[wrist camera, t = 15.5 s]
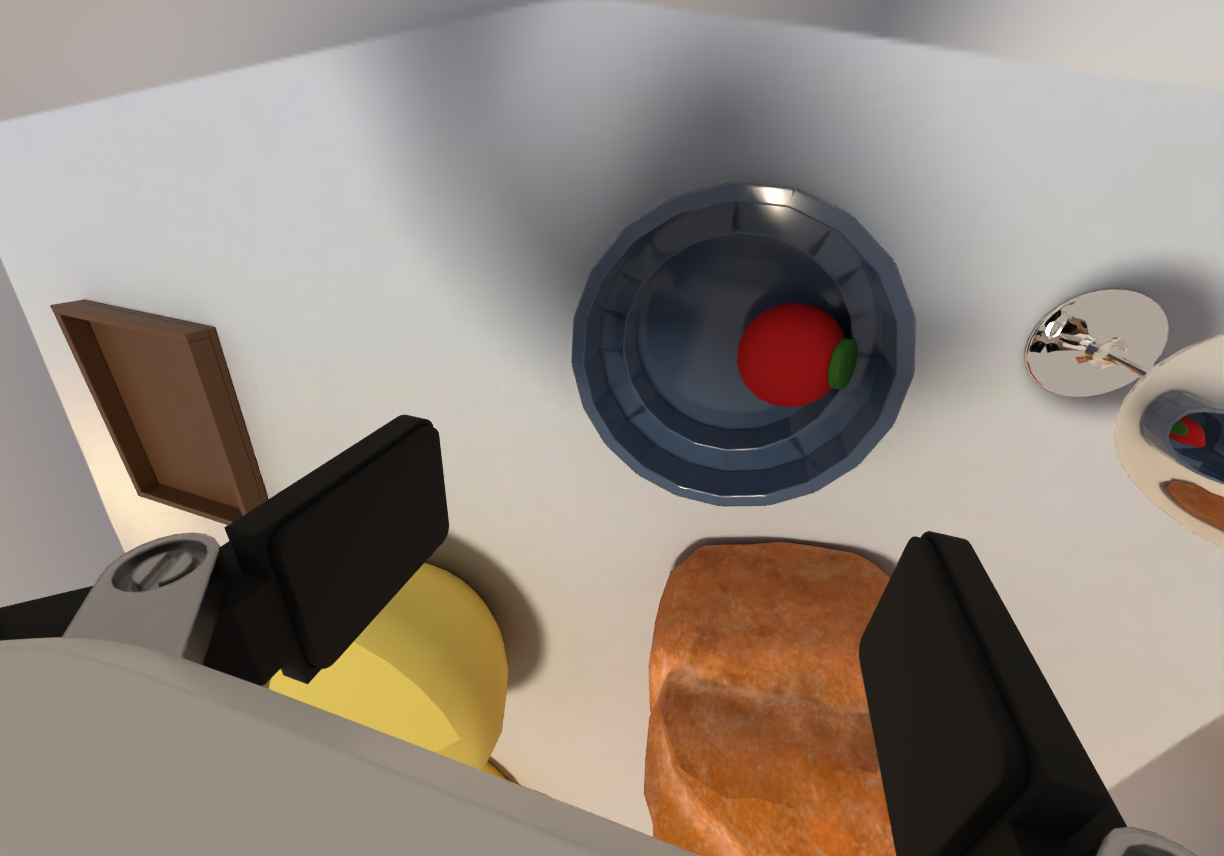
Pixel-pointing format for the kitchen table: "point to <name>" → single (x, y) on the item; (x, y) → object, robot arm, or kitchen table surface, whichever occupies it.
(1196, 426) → the wineglass
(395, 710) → the vase
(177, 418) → the serving tray
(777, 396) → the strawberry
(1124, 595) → the kitchen table surface
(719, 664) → the bread
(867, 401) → the bowl
